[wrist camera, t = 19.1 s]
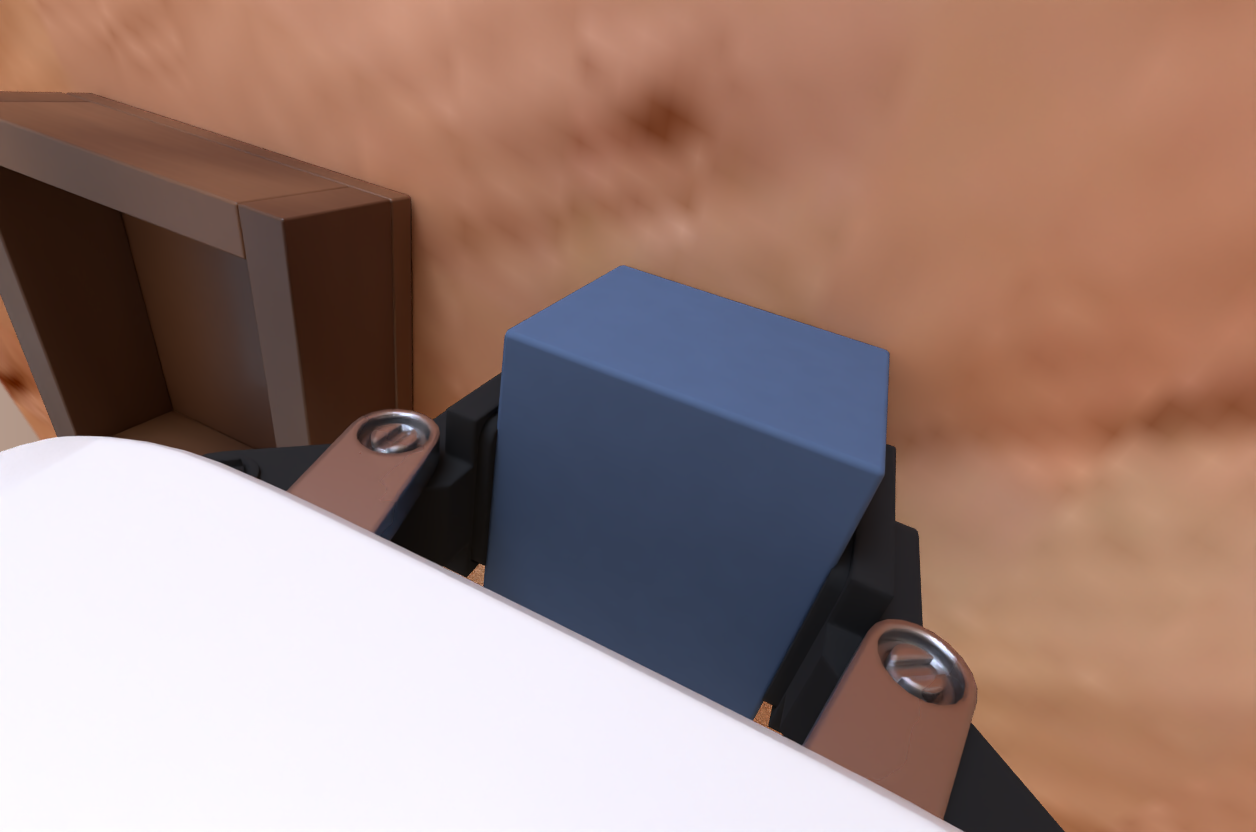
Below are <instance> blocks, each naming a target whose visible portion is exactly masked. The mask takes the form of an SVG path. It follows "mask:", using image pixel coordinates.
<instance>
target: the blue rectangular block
mask: <svg viewBox="0 0 1256 832" xmlns="http://www.w3.org/2000/svg"><path fill="white" fill-rule="evenodd" d="M888 381H889V352H888V351H887V350H884V349H881V348H878V347H875V346H872V345H869V344H866V343H863V342H860V341H856V340H853V339H850V338H847V337H844V336H841V335H838V334H835V333H832V332H829V331H826V330H822V329H819V328H816V327H813V326H810V325H807V324H804V323H801V322H798V321H795V320H791V319H788V318H785V317H782V316H779V315H776V314H773V313H770V312H767V311H764V310H760V309H757V308H754V307H751V306H748V305H745V304H742V303H739V302H736V301H733V300H729V299H726V298H723V297H720V296H717V295H714V294H711V293H708V292H705V291H702V290H698V289H695V288H692V287H689V286H686V285H683V284H680V283H677V282H674V281H671V280H667V279H664V278H661V277H658V276H655V275H652V274H649V273H646V272H643V271H640V270H636V269H633V268H630V267H627V266H624V265H623V266H619V267H617V268H615V269H614V270H612V271H610V272H608V273H607V274H605V275H603V276H601V277H600V278H598V279H596V280H594V281H593V282H591V283H589V284H587V285H586V286H584V287H582V288H580V289H579V290H577V291H575V292H573V293H572V294H570V295H568V296H566V297H565V298H563V299H561V300H559V301H558V302H556V303H554V304H552V305H551V306H549V307H547V308H545V309H544V310H542V311H540V312H538V313H537V314H535V315H533V316H531V317H530V318H528V319H526V320H524V321H523V322H521V323H519V324H517V325H516V326H514V327H512V328H510V329H509V330H508V331H507V332H506V335H505V339H504V351H503V363H502V374H501V386H500V398H499V410H498V422H497V429H498V430H497V442H496V453H495V465H494V477H493V488H492V500H491V512H490V523H489V535H488V547H487V558H486V566H485V575H484V587H485V588H487V589H489V590H491V591H493V592H495V593H497V594H499V595H501V596H503V597H505V598H507V599H509V600H511V601H513V602H515V603H517V604H519V605H521V606H523V607H525V608H527V609H529V610H531V611H533V612H535V613H537V614H540V615H542V616H544V617H546V618H548V619H550V620H552V621H554V622H556V623H558V624H560V625H562V626H564V627H566V628H568V629H570V630H572V631H574V632H576V633H578V634H580V635H582V636H584V637H586V638H588V639H590V640H592V641H594V642H596V643H598V644H600V645H602V646H604V647H606V648H608V649H610V650H612V651H614V652H616V653H618V654H620V655H622V656H624V657H626V658H628V659H630V660H632V661H634V662H636V663H638V664H640V665H642V666H644V667H646V668H648V669H650V670H652V671H654V672H656V673H658V674H660V675H662V676H664V677H666V678H668V679H670V680H672V681H674V682H676V683H678V684H680V685H682V686H684V687H686V688H688V689H690V690H692V691H694V692H696V693H698V694H700V695H702V696H704V697H706V698H708V699H710V700H712V701H714V702H716V703H718V704H720V705H722V706H724V707H726V708H728V709H730V710H732V711H734V712H736V713H738V714H740V715H742V716H744V717H746V718H748V719H750V720H752V721H753V720H754V718H755V716H756V714H757V712H758V710H759V709H760V707H761V705H762V703H763V700H762V699H763V697H764V695H765V693H766V691H767V689H768V687H769V685H770V684H771V682H772V680H773V678H774V676H775V674H776V672H777V670H778V669H779V667H780V665H781V663H782V661H783V659H784V657H785V655H786V654H787V652H788V650H789V648H790V646H791V644H792V642H793V640H794V639H795V637H796V635H797V633H798V631H799V629H800V627H801V625H802V624H803V622H804V620H805V618H806V616H807V614H808V612H809V610H810V609H811V607H812V605H813V603H814V601H815V599H816V597H817V595H818V594H819V592H820V590H821V588H822V586H823V584H824V582H825V580H826V579H827V577H828V575H829V573H830V571H831V569H833V568H834V567H835V566H836V565H837V563H838V561H839V559H840V558H841V556H842V554H843V552H844V550H845V548H846V546H847V545H848V543H849V541H850V539H851V537H852V535H853V533H854V531H855V530H856V528H857V526H858V524H859V522H860V520H861V518H862V517H863V515H864V513H865V511H866V509H867V507H868V505H869V504H870V502H871V500H872V498H873V496H874V494H875V492H876V490H877V489H878V487H879V485H880V483H881V481H882V479H883V477H884V476H885V457H886V432H887V407H888Z"/></svg>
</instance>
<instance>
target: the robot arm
mask: <svg viewBox="0 0 1256 832" xmlns="http://www.w3.org/2000/svg"><path fill="white" fill-rule="evenodd" d="M501 374H502V372H501V373H500V374H498V375H497V376H495V377H494V378H492V379H491V380H489V381H488V382H486V383H485V384H483V385H482V386H480V387H479V388H477V389H476V390H474V391H473V392H471V393H470V394H468V395H467V396H466V397H464V398H463V399H461V400H460V401H458V402H457V403H455V404H454V405H452V406H451V407H449V408H448V409H446V411H445V412H443V413H442V414H440V415H439V416H438V417H436V418H435V419H433V420H432V419H431V418H429V417H427V416H426V415H424V414H421V413H418V412H415V411H410V410H403V409H387V410H381V411H376V412H371V413H369V414H367V415H364V416H362V417H360V418H358V419H357V420H356V421H354V422H353V423H352V424H351V425H350V426H349V427H348V428H347V429H346V430H345V431H344V432H343V433H342V434H341V435H340V436H339V437H338V438H337V439H336V440H335V441H334V442H333V443H332V444H321V445H306V446H292V447H277V448H263V449H248V450H234V451H222V452H214V453H208V454H204V455H201V456H200V455H197V454H194V453H191V452H188V451H185V450H181V449H177V448H172V447H168V446H164V445H160V444H155V443H151V442H146V441H138V440H130V439H122V438H114V437H102V436H65V437H55V438H49V439H44V440H40V441H36V442H32V443H28V444H24V445H21V446H17V447H14V448H11V449H8V450H4V451H1V452H0V832H1064V830H1063V829H1062V828H1061V827H1060V826H1059V825H1058V823H1057V822H1056V821H1055V820H1054V819H1053V818H1052V816H1051V815H1050V814H1049V813H1048V812H1047V811H1046V809H1045V808H1044V807H1043V806H1042V805H1041V804H1040V802H1039V801H1038V800H1037V799H1036V798H1035V797H1034V795H1033V794H1032V793H1031V792H1030V791H1029V790H1028V788H1027V787H1026V786H1025V785H1024V784H1023V783H1022V781H1021V780H1020V779H1019V778H1018V777H1017V776H1016V774H1015V773H1014V772H1013V771H1012V770H1011V769H1010V767H1009V766H1008V765H1007V764H1006V763H1005V762H1004V760H1003V759H1002V758H1001V757H1000V756H999V754H998V753H997V752H996V751H995V750H994V749H993V747H992V746H991V745H990V744H989V743H988V742H987V740H986V739H985V738H984V737H983V736H982V735H981V733H980V732H979V731H978V730H977V729H976V728H975V726H974V725H973V724H972V723H971V721H972V717H973V714H974V710H975V707H976V703H977V686H976V683H975V680H974V677H973V674H972V672H971V671H970V669H969V667H968V666H967V664H966V663H965V661H964V660H963V658H962V657H961V656H960V655H959V654H958V653H957V652H956V651H955V650H954V649H953V648H952V647H951V646H950V645H949V644H948V643H947V642H946V641H944V640H943V639H942V638H940V637H939V636H938V635H936V634H935V633H933V632H931V631H929V630H928V629H926V628H924V627H923V623H922V600H921V578H920V555H919V536H918V531H917V530H916V529H914V528H912V527H909V526H906V525H904V524H901V523H899V522H896V521H895V476H896V448H895V447H893V446H891V445H888V444H886V457H885V476H884V477H883V479H882V481H881V483H880V485H879V487H878V489H877V490H876V492H875V494H874V496H873V498H872V500H871V502H870V504H869V505H868V507H867V509H866V511H865V513H864V515H863V517H862V518H861V520H860V522H859V524H858V526H857V528H856V530H855V531H854V533H853V535H852V537H851V539H850V541H849V543H848V545H847V546H846V548H845V550H844V552H843V554H842V556H841V558H840V559H839V561H838V563H837V565H836V566H835V567H834V568H833V569H831V571H830V573H829V575H828V577H827V579H826V580H825V582H824V584H823V586H822V588H821V590H820V592H819V594H818V595H817V597H816V599H815V601H814V603H813V605H812V607H811V609H810V610H809V612H808V614H807V616H806V618H805V620H804V622H803V624H802V625H801V627H800V629H799V631H798V633H797V635H796V637H795V639H794V640H793V642H792V644H791V646H790V648H789V650H788V652H787V654H786V655H785V657H784V659H783V661H782V663H781V665H780V667H779V669H778V670H777V672H776V674H775V676H774V678H773V680H772V682H771V684H770V685H769V687H768V689H767V691H766V693H765V695H764V697H763V699H762V700H763V701H765V702H767V703H769V704H771V705H773V706H772V711H771V716H770V720H769V725H768V727H770V728H772V729H774V730H776V731H778V732H780V733H782V734H783V736H782V735H780V734H778V733H776V732H774V731H772V730H770V729H768V728H766V727H764V726H762V725H760V724H758V723H756V722H754V721H752V720H750V719H748V718H746V717H744V716H742V715H740V714H738V713H736V712H734V711H732V710H730V709H728V708H726V707H724V706H722V705H720V704H718V703H716V702H714V701H712V700H710V699H708V698H706V697H704V696H702V695H700V694H698V693H696V692H694V691H692V690H690V689H688V688H686V687H684V686H682V685H680V684H678V683H676V682H674V681H672V680H670V679H668V678H666V677H664V676H662V675H660V674H658V673H656V672H654V671H652V670H650V669H648V668H646V667H644V666H642V665H640V664H638V663H636V662H634V661H632V660H630V659H628V658H626V657H624V656H622V655H620V654H618V653H616V652H614V651H612V650H610V649H608V648H606V647H604V646H602V645H600V644H598V643H596V642H594V641H592V640H590V639H588V638H586V637H584V636H582V635H580V634H578V633H576V632H574V631H572V630H570V629H568V628H566V627H564V626H562V625H560V624H558V623H556V622H554V621H552V620H550V619H548V618H546V617H544V616H542V615H540V614H537V613H535V612H533V611H531V610H529V609H527V608H525V607H523V606H521V605H519V604H517V603H515V602H513V601H511V600H509V599H507V598H505V597H503V596H501V595H499V594H497V593H495V592H493V591H491V590H489V589H487V588H485V587H483V586H481V585H479V584H477V583H475V582H473V581H471V580H469V579H466V578H467V576H468V575H469V574H470V573H471V572H472V571H473V570H474V569H475V568H476V567H477V566H478V564H479V563H480V564H482V565H485V566H486V558H487V547H488V535H489V523H490V512H491V500H492V488H493V477H494V465H495V453H496V442H497V430H498V429H497V422H498V410H499V398H500V386H501ZM442 566H444V567H446V568H448V569H450V570H452V571H454V572H456V573H458V574H460V575H462V576H464V577H466V578H464V577H462V576H460V575H458V574H456V573H454V572H452V571H450V570H448V569H446V568H444V567H442Z"/></svg>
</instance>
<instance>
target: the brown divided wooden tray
mask: <svg viewBox="0 0 1256 832" xmlns="http://www.w3.org/2000/svg"><path fill="white" fill-rule="evenodd" d="M0 295H1V297H2V300H3V302H4V305H5V307H6V310H7V312H8V315H9V317H10V320H11V322H12V325H13V327H14V330H15V332H16V335H17V337H18V340H19V342H20V345H21V347H22V350H23V352H24V355H25V357H26V360H27V362H28V365H29V367H30V370H31V372H32V375H33V377H34V380H35V382H36V385H37V387H38V390H39V392H40V395H41V397H42V400H43V402H44V405H45V407H46V410H47V412H48V415H49V417H50V420H51V422H52V425H53V427H54V430H55V432H56V435H57V437H65V436H102V437H114V438H122V439H130V440H138V441H146V442H151V443H155V444H160V445H164V446H168V447H172V448H177V449H181V450H185V451H188V452H191V453H194V454H197V455H200V456H201V455H204V454H208V453H214V452H222V451H234V450H248V449H263V448H277V447H292V446H306V445H321V444H332V443H333V442H334V441H335V440H336V439H337V438H338V437H339V436H340V435H341V434H342V433H343V432H344V431H345V430H346V429H347V428H348V427H349V426H350V425H351V424H352V423H353V422H354V421H356V420H357V419H358V418H360V417H362V416H364V415H367V414H369V413H371V412H376V411H381V410H387V409H403V410H410V411H412V312H411V199H410V197H409V196H408V195H405V194H402V193H399V192H396V191H393V190H390V189H387V188H384V187H380V186H377V185H374V184H371V183H368V182H365V181H362V180H359V179H356V178H352V177H349V176H346V175H343V174H340V173H337V172H334V171H331V170H328V169H325V168H321V167H318V166H315V165H312V164H309V163H306V162H303V161H300V160H297V159H294V158H290V157H287V156H284V155H281V154H278V153H275V152H272V151H269V150H266V149H262V148H259V147H256V146H253V145H250V144H247V143H244V142H241V141H238V140H235V139H231V138H228V137H225V136H222V135H219V134H216V133H213V132H210V131H207V130H204V129H200V128H197V127H194V126H191V125H188V124H185V123H182V122H179V121H176V120H172V119H169V118H166V117H163V116H160V115H157V114H154V113H151V112H148V111H145V110H141V109H138V108H135V107H132V106H129V105H126V104H123V103H120V102H117V101H114V100H110V99H107V98H104V97H101V96H98V95H95V94H92V93H66V94H65V93H62V92H8V91H0Z"/></svg>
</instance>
